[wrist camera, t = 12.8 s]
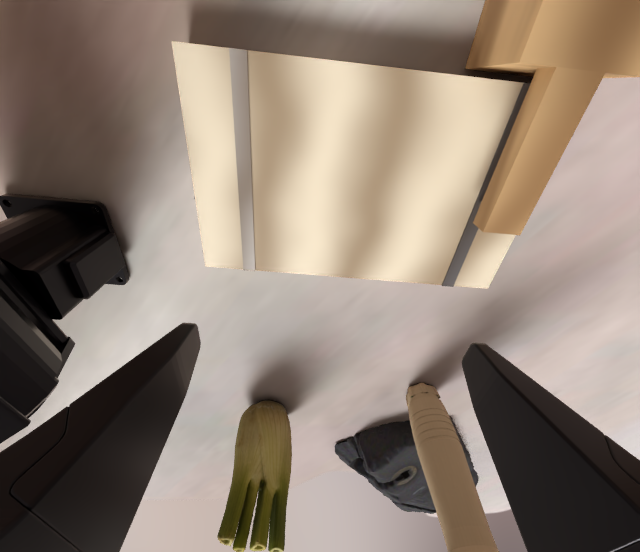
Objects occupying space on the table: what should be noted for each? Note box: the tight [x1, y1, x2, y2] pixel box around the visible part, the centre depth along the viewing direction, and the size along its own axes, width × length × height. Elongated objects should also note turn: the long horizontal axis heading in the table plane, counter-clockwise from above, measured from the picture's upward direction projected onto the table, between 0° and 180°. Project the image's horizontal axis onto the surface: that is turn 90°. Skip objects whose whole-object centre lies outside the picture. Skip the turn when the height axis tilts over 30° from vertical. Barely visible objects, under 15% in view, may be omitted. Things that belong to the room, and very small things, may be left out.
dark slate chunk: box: [335, 417, 478, 514], centre depth 38 cm, size 15×22×5 cm
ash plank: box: [171, 41, 531, 289], centre depth 18 cm, size 20×12×2 cm, turn 85°
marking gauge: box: [465, 0, 640, 235], centre depth 14 cm, size 5×11×5 cm, turn 175°
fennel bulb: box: [218, 400, 292, 552], centre depth 27 cm, size 6×5×12 cm
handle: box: [406, 383, 499, 552], centre depth 24 cm, size 5×6×15 cm
